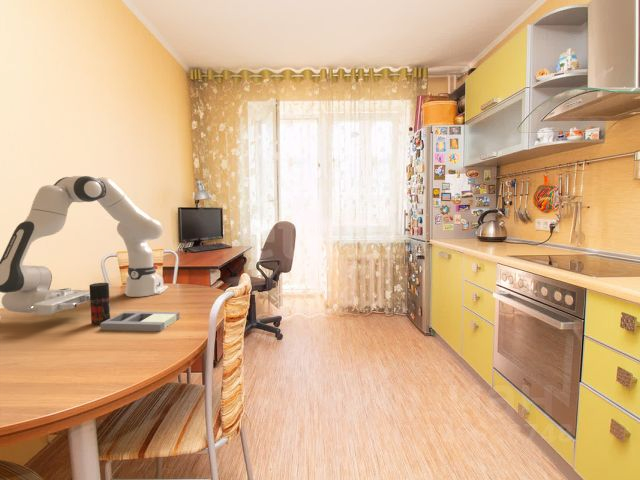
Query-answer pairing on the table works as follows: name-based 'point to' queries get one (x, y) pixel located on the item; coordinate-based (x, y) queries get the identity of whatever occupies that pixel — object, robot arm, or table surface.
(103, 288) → the deodorant
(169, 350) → the table surface
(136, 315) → the board
